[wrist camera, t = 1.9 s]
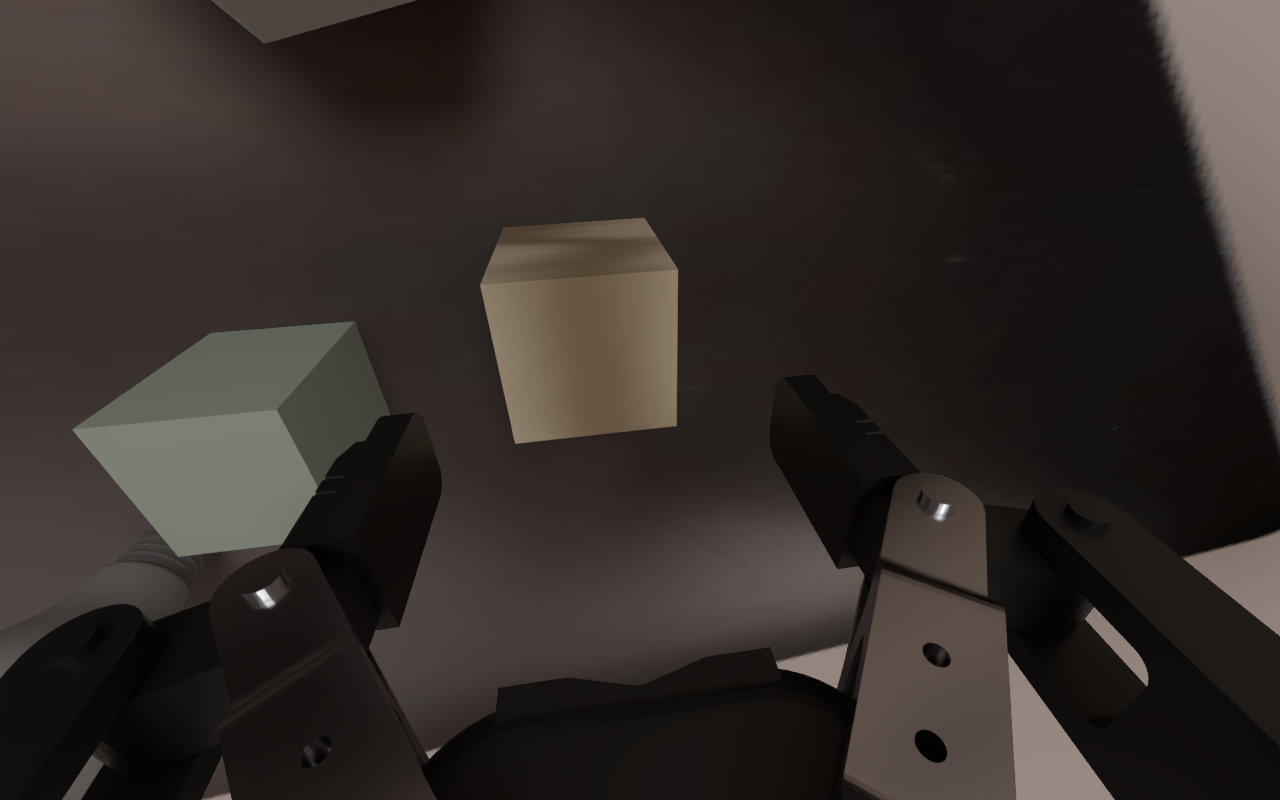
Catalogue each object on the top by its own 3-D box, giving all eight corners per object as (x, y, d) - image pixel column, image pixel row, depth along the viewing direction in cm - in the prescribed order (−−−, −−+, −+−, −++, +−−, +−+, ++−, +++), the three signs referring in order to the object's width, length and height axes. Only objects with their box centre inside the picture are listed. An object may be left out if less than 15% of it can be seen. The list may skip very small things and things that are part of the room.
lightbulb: (177, 462, 20) (-143, 775, 11) (295, 546, 23) (125, 840, 14) (66, 520, 21) (-320, 857, 12) (195, 593, 24) (-27, 901, 15)
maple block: (526, 353, 20) (515, 443, 15) (503, 227, 17) (480, 284, 12) (647, 342, 20) (676, 425, 15) (644, 217, 18) (677, 269, 12)
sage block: (272, 441, 20) (178, 556, 15) (211, 332, 18) (72, 429, 13) (396, 428, 21) (344, 536, 16) (355, 320, 18) (276, 409, 13)
